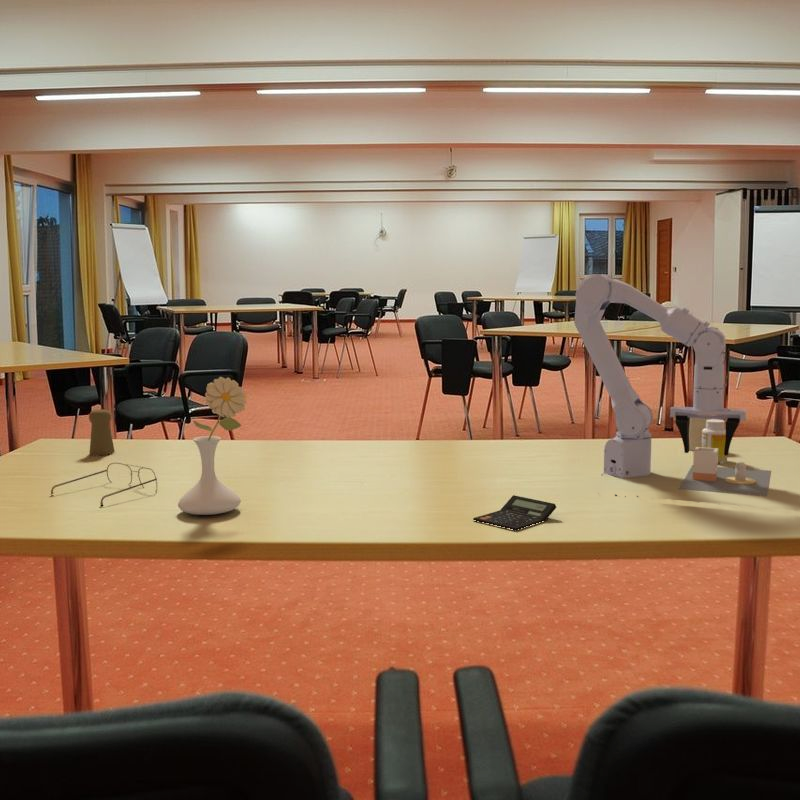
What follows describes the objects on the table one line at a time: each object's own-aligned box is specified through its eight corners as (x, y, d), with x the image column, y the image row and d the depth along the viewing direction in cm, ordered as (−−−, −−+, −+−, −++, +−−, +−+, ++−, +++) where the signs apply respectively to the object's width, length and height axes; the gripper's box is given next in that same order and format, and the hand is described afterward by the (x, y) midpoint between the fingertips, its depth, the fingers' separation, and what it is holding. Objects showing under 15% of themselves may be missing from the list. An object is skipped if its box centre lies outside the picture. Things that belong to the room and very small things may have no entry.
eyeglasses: (163, 493, 179) (161, 469, 178) (101, 508, 167) (100, 483, 166) (112, 483, 188) (111, 460, 187) (50, 497, 176) (49, 473, 175)
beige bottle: (712, 448, 217) (714, 408, 215) (707, 452, 212) (708, 411, 211) (689, 446, 220) (691, 407, 218) (684, 450, 215) (685, 410, 214)
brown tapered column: (89, 452, 220) (87, 408, 219) (115, 450, 222) (112, 407, 221) (88, 456, 215) (86, 412, 213) (114, 454, 217) (112, 410, 215)
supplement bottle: (731, 465, 197) (733, 420, 196) (718, 469, 194) (720, 423, 192) (709, 461, 202) (711, 417, 200) (695, 465, 198) (697, 420, 197)
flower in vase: (179, 522, 155) (173, 382, 151) (177, 506, 166) (171, 375, 162) (253, 516, 158) (249, 379, 155) (246, 501, 169) (242, 372, 166)
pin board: (767, 501, 165) (768, 475, 165) (678, 493, 172) (679, 468, 171) (770, 475, 187) (771, 452, 186) (692, 469, 194) (693, 447, 193)
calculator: (473, 522, 154) (473, 506, 154) (514, 510, 162) (514, 494, 162) (515, 533, 147) (515, 515, 147) (556, 519, 155) (556, 503, 155)
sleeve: (715, 481, 178) (716, 452, 177) (692, 479, 179) (693, 450, 179) (717, 476, 182) (718, 448, 181) (695, 475, 183) (696, 446, 183)
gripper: (747, 386, 179) (745, 452, 180) (674, 384, 185) (672, 447, 186) (745, 390, 172) (743, 458, 174) (669, 388, 178) (667, 453, 180)
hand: (706, 453), depth 180 cm, fingers open, 7 cm apart
